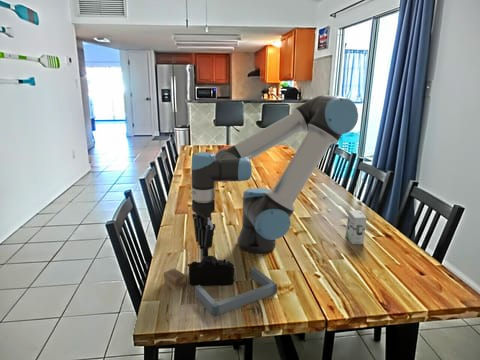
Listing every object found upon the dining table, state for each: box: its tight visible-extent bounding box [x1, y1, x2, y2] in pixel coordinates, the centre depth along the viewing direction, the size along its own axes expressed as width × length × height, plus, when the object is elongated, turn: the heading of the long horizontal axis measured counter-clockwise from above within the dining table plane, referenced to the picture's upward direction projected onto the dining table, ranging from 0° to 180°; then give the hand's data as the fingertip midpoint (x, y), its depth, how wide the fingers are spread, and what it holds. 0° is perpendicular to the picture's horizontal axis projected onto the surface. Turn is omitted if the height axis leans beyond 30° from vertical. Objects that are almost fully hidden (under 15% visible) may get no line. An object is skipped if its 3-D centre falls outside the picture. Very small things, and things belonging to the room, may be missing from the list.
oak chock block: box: [163, 267, 187, 292], centre depth 112 cm, size 4×6×4 cm, turn 46°
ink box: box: [345, 209, 367, 245], centre depth 146 cm, size 9×5×12 cm, turn 2°
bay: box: [194, 266, 278, 317], centre depth 108 cm, size 22×12×3 cm, turn 123°
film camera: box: [187, 255, 235, 287], centre depth 116 cm, size 15×10×9 cm, turn 92°
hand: (203, 263), depth 123 cm, fingers closed
